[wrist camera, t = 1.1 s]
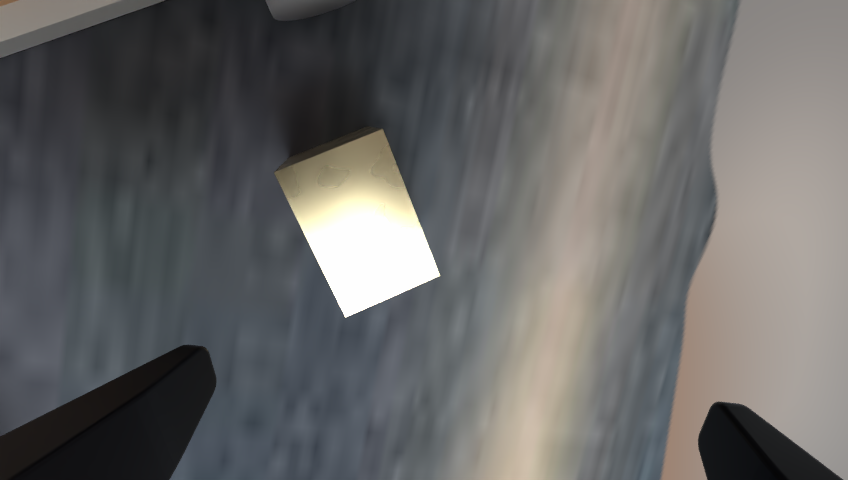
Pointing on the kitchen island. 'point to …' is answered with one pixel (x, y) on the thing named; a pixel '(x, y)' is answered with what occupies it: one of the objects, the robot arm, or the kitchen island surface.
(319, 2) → the frame
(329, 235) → the wood-topped khaki block
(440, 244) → the kitchen island surface
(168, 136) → the kitchen island surface
